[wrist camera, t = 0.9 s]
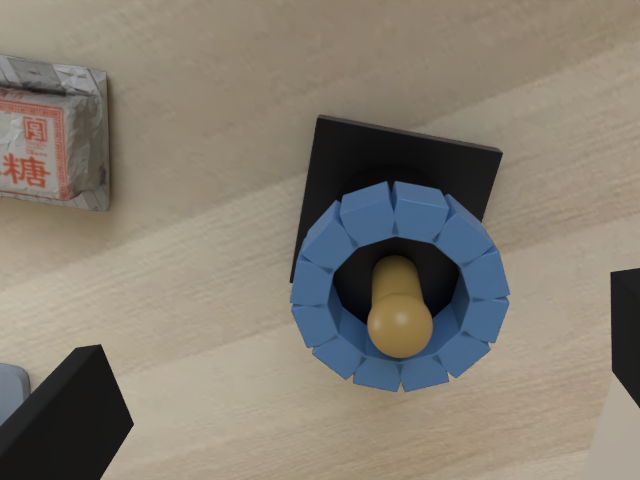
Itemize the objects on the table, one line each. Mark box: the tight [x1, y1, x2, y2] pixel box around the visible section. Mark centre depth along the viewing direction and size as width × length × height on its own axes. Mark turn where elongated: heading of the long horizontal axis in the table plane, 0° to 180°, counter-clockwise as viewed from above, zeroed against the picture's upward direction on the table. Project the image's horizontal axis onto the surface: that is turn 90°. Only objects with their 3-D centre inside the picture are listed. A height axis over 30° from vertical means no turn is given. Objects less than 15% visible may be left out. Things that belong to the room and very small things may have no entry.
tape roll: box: [290, 181, 510, 392], centre depth 25 cm, size 10×10×3 cm
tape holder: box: [290, 115, 503, 358], centre depth 28 cm, size 12×12×16 cm
